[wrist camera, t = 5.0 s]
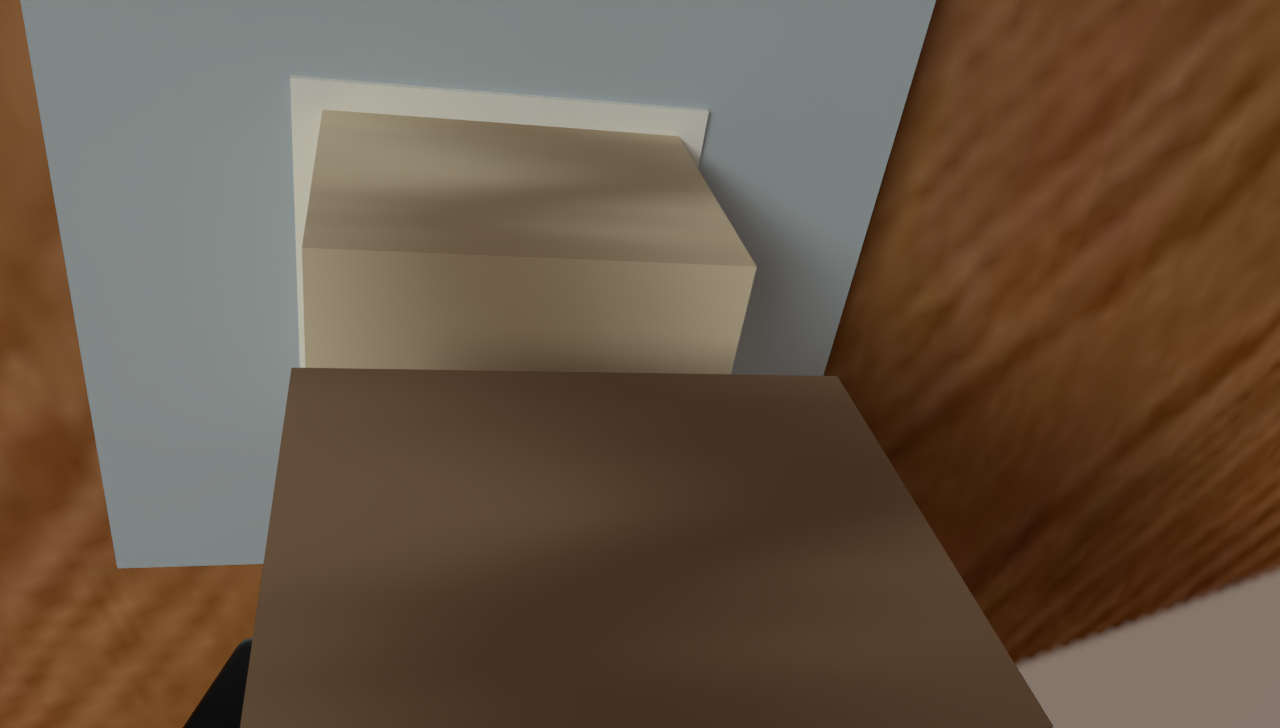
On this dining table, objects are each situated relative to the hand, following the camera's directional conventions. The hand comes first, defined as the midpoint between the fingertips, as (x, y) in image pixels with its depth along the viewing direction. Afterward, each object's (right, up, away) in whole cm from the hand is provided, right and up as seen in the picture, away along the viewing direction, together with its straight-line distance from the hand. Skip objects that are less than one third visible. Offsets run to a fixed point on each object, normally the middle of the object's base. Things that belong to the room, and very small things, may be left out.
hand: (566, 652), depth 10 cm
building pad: (-2, +5, +7) cm, 8 cm away
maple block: (-2, +4, +6) cm, 7 cm away
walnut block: (0, +1, +1) cm, 1 cm away
